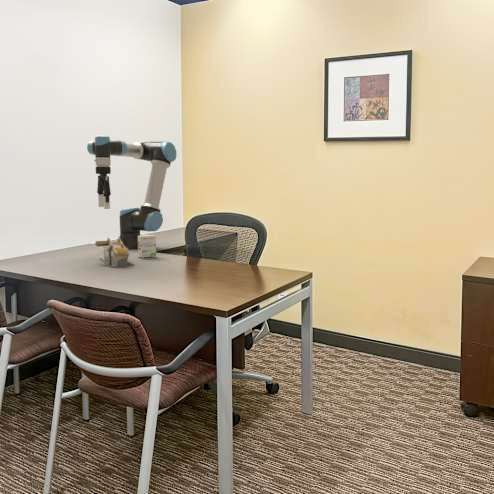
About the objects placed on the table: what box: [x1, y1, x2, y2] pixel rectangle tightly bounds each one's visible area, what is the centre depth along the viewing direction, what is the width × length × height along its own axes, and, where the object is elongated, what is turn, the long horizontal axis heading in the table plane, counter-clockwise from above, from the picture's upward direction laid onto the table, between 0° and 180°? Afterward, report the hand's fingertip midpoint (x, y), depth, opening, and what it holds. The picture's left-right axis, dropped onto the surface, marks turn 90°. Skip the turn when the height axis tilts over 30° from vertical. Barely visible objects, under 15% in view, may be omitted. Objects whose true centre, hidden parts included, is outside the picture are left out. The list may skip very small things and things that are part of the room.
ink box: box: [137, 234, 157, 258], centre depth 299 cm, size 9×5×12 cm, turn 122°
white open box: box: [98, 246, 116, 262], centre depth 293 cm, size 9×10×6 cm
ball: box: [118, 248, 125, 254], centre depth 274 cm, size 4×4×4 cm
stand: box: [102, 246, 135, 269], centre depth 279 cm, size 17×11×8 cm, turn 28°
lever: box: [95, 236, 130, 260], centre depth 278 cm, size 18×12×3 cm, turn 28°
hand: (104, 207), depth 294 cm, fingers open, 12 cm apart
